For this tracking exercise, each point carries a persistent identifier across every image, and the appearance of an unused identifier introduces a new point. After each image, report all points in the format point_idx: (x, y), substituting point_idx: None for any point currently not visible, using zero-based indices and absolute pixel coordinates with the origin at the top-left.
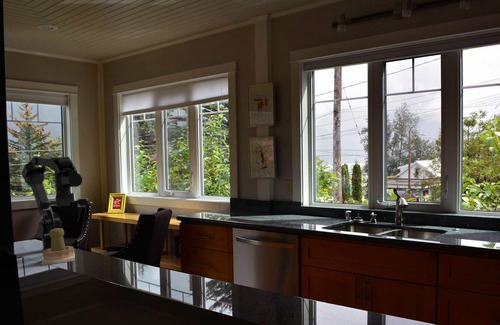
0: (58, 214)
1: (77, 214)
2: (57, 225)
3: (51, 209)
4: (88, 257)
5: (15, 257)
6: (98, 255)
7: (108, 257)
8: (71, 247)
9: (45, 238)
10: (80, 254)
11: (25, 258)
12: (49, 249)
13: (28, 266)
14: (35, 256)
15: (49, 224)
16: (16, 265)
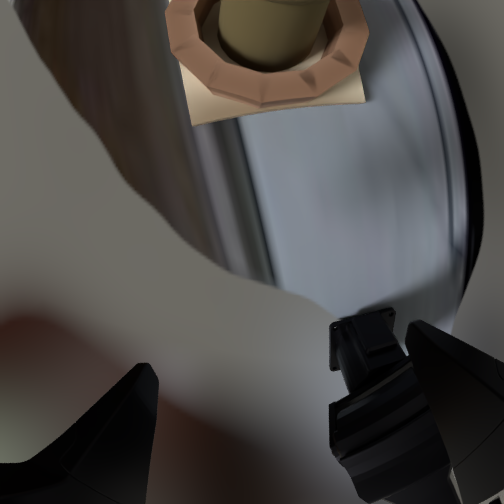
0: (359, 496)
1: (92, 439)
2: (358, 426)
3: (491, 488)
4: (109, 44)
5: (468, 255)
6: (70, 76)
7: (38, 34)
8: (179, 28)
9: (401, 354)
10: (166, 135)
11: (445, 207)
12: (340, 45)
13: (386, 5)
14: (414, 228)
15: (412, 412)
16: (445, 69)
